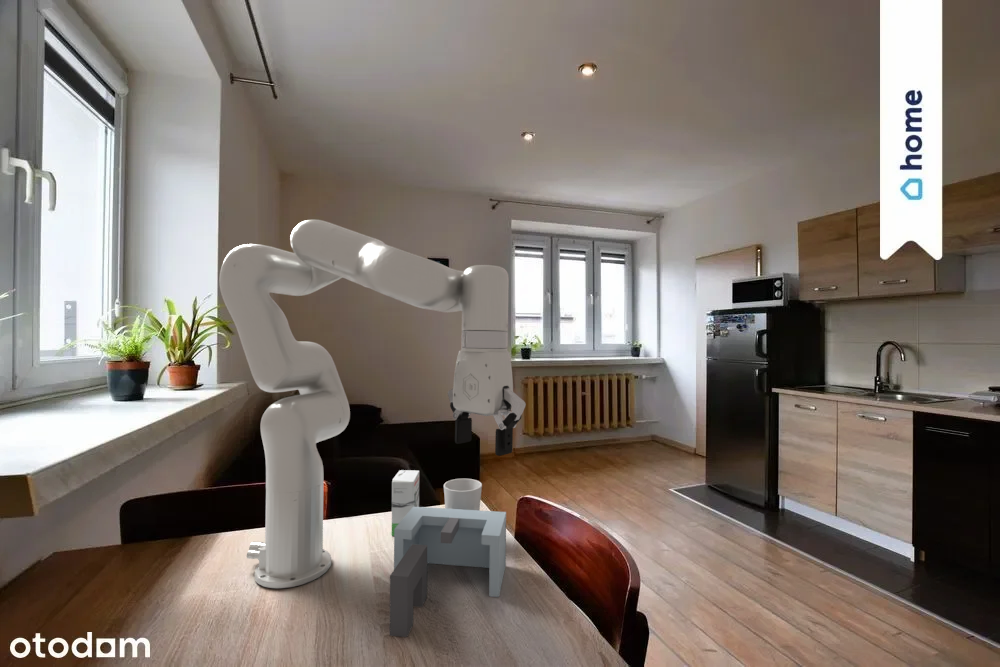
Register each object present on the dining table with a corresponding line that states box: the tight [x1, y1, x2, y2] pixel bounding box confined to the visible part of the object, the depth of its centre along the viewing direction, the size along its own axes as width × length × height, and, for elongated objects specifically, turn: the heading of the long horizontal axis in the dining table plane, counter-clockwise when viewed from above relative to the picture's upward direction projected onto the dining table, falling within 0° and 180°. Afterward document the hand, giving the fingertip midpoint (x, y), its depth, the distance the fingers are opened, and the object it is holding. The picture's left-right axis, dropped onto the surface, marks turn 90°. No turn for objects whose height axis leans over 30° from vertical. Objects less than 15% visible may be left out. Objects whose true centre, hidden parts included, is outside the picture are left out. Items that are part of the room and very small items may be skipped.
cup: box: [443, 478, 483, 511], centre depth 91 cm, size 8×8×12 cm
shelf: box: [393, 506, 507, 598], centre depth 78 cm, size 18×10×10 cm, turn 83°
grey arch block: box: [388, 544, 428, 638], centre depth 67 cm, size 10×3×8 cm, turn 173°
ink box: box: [391, 469, 420, 537], centre depth 97 cm, size 9×5×12 cm, turn 2°
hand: (482, 447), depth 71 cm, fingers open, 9 cm apart
